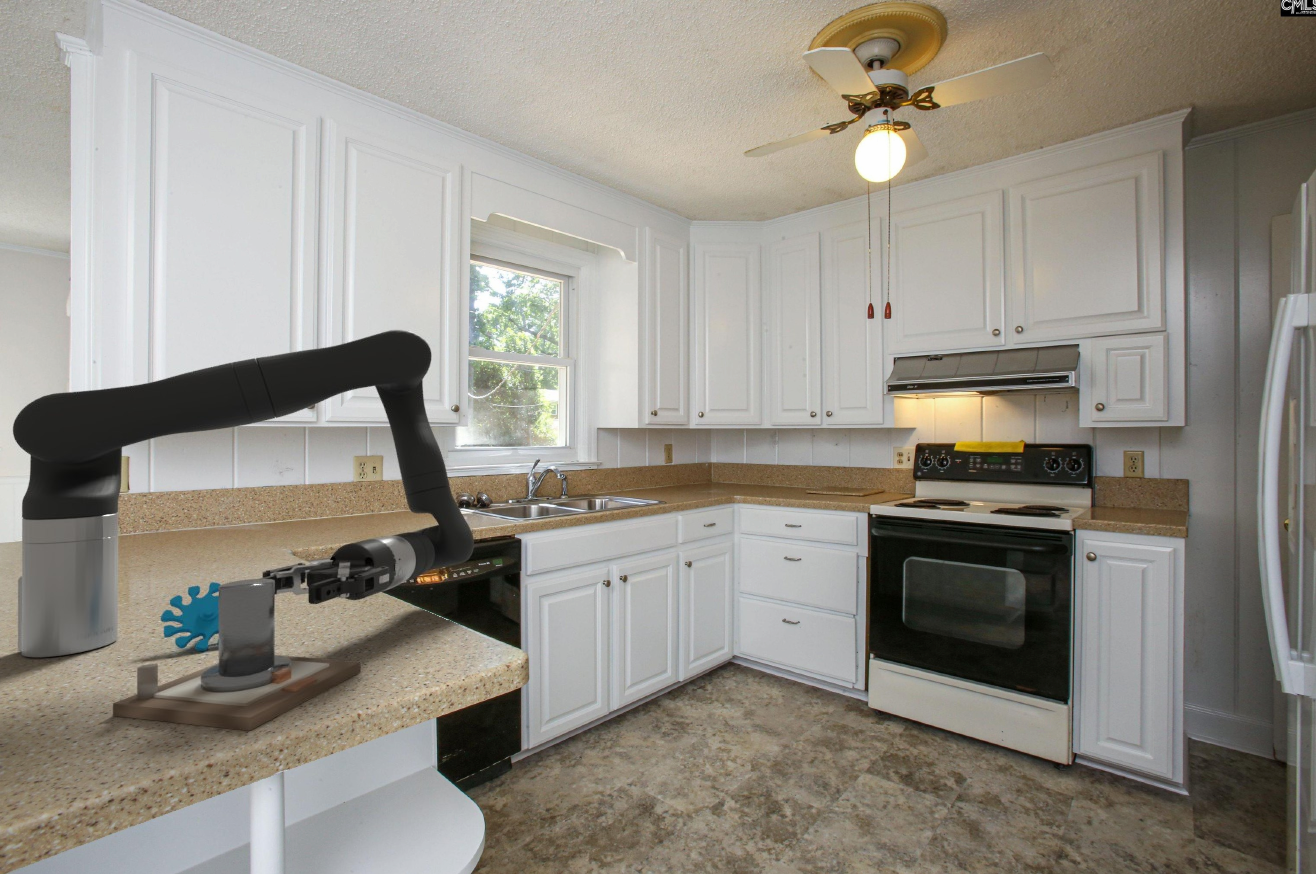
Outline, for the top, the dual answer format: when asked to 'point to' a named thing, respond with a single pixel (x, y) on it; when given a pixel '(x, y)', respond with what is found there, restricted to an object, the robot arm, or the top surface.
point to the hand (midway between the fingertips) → (279, 593)
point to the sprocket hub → (246, 639)
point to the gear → (194, 617)
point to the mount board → (231, 695)
